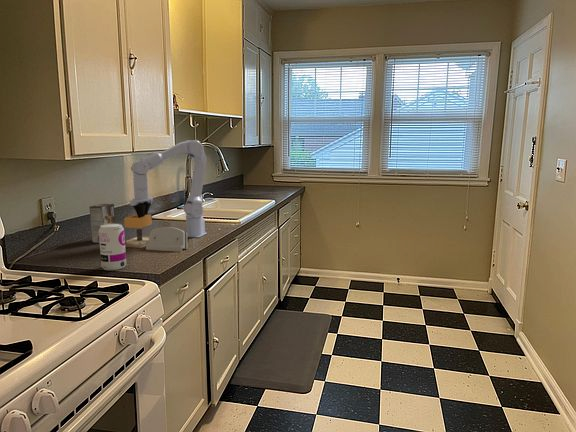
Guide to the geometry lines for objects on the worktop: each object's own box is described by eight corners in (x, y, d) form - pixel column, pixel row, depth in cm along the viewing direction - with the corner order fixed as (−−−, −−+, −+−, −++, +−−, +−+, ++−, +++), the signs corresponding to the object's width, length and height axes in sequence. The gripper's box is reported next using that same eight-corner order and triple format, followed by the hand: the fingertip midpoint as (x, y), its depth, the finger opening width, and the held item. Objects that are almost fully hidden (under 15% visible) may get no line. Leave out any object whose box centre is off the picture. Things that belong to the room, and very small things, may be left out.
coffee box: (104, 238, 202) (101, 203, 199) (117, 238, 201) (114, 203, 198) (91, 242, 193) (89, 206, 191) (105, 243, 192) (102, 206, 189)
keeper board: (138, 239, 199) (138, 226, 197) (158, 240, 196) (158, 226, 195) (120, 246, 185) (119, 232, 184) (141, 247, 183) (140, 233, 182)
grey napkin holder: (144, 249, 180) (148, 225, 182) (150, 250, 185) (154, 227, 186) (182, 251, 176) (185, 227, 178) (187, 252, 181) (190, 228, 182)
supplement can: (129, 264, 158) (127, 223, 156) (121, 270, 150) (118, 227, 148) (106, 264, 158) (103, 223, 156) (97, 271, 150) (94, 227, 148)
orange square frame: (135, 223, 194) (134, 214, 193) (151, 223, 192) (151, 214, 191) (124, 227, 187) (123, 218, 186) (141, 227, 185) (140, 218, 184)
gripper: (142, 186, 198) (143, 216, 200) (122, 190, 184) (124, 222, 186) (156, 187, 196) (157, 217, 198) (137, 190, 182) (139, 222, 184)
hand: (142, 219), depth 192 cm, fingers closed on orange square frame
